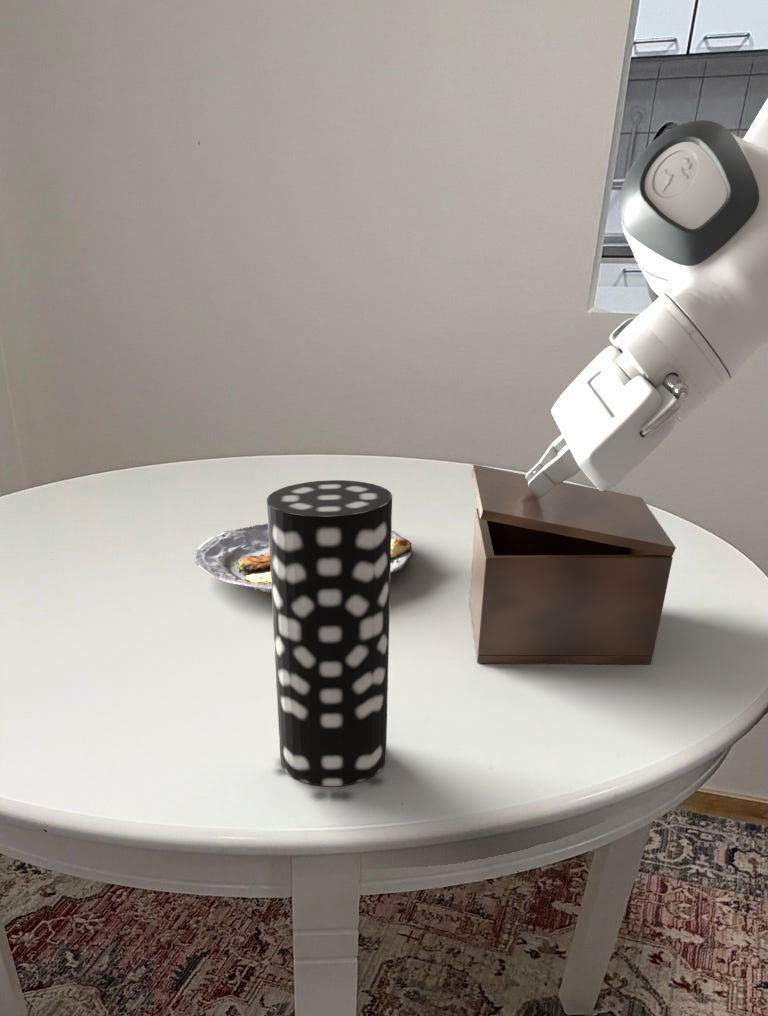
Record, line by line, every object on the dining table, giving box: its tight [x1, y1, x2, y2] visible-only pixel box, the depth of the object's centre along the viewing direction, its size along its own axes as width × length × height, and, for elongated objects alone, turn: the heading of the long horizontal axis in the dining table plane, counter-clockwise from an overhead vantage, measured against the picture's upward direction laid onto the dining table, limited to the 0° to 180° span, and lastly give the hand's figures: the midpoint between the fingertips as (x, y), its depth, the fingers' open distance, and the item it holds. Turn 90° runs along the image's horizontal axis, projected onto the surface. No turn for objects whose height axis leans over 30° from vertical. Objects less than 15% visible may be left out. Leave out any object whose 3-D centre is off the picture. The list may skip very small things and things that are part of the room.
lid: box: [470, 464, 677, 557], centre depth 86 cm, size 17×15×1 cm
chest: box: [468, 507, 674, 665], centre depth 90 cm, size 16×15×10 cm
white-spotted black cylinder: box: [266, 479, 393, 787], centre depth 69 cm, size 8×8×20 cm
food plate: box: [192, 523, 415, 593], centre depth 109 cm, size 25×23×4 cm
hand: (531, 488), depth 86 cm, fingers closed
